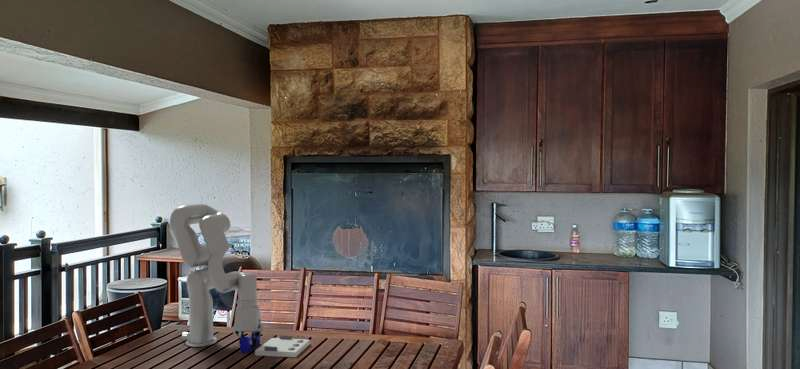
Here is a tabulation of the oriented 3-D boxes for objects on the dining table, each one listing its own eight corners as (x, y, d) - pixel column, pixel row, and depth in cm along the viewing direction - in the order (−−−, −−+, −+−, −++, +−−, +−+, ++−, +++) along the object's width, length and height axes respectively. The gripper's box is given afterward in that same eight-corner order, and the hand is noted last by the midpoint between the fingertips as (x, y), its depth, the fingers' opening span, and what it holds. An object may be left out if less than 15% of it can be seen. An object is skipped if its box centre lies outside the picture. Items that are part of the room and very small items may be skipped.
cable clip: (250, 343, 232) (249, 329, 232) (260, 343, 231) (259, 329, 231) (237, 352, 220) (236, 337, 220) (247, 352, 219) (247, 338, 219)
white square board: (255, 355, 216) (255, 346, 216) (271, 342, 233) (271, 334, 233) (295, 357, 213) (295, 348, 213) (309, 344, 230) (309, 336, 230)
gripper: (224, 304, 222) (225, 348, 223) (263, 305, 220) (264, 350, 220) (232, 300, 230) (233, 343, 230) (270, 301, 227) (271, 344, 227)
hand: (248, 346), depth 225 cm, fingers closed on cable clip, 4 cm apart
